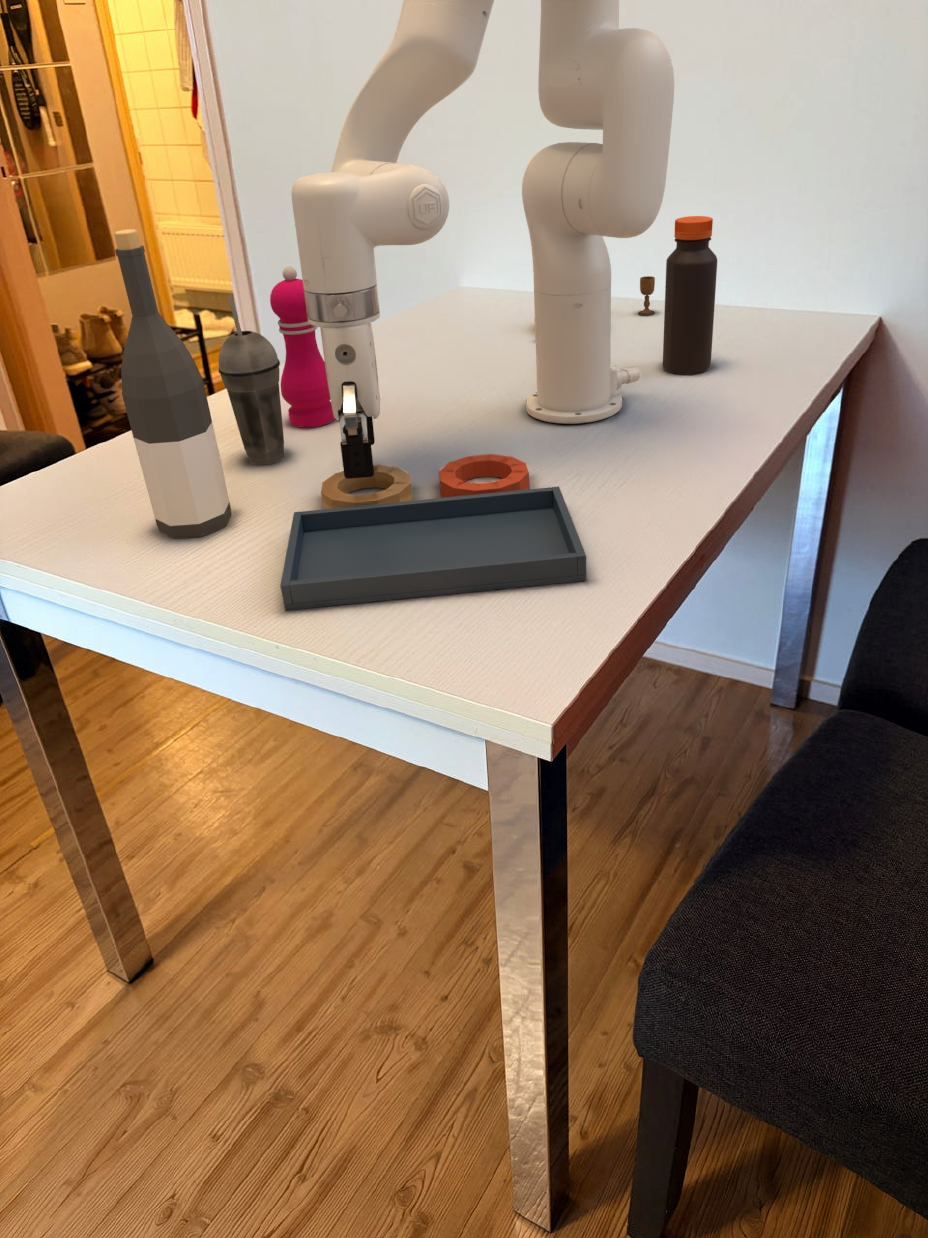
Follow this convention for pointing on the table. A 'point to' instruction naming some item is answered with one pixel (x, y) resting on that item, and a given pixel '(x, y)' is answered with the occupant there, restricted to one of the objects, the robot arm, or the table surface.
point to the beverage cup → (253, 392)
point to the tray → (430, 548)
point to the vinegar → (690, 298)
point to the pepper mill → (300, 356)
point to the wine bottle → (168, 411)
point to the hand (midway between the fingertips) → (360, 460)
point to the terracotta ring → (483, 475)
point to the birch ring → (383, 477)
